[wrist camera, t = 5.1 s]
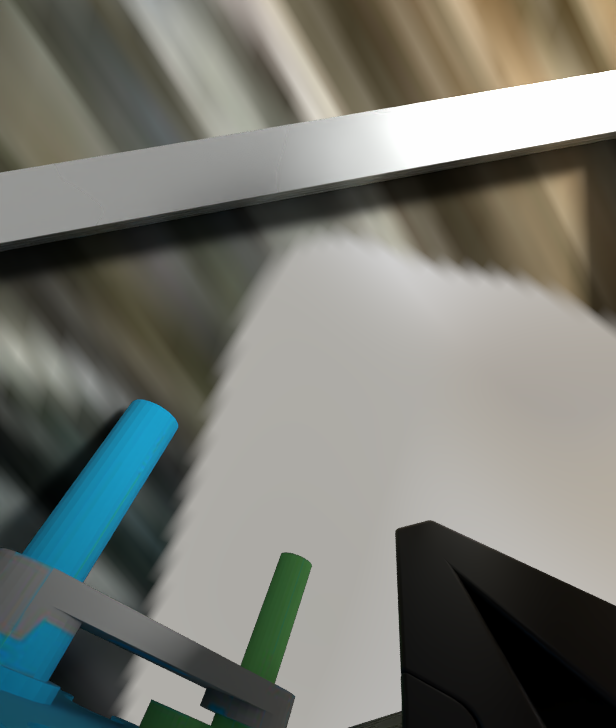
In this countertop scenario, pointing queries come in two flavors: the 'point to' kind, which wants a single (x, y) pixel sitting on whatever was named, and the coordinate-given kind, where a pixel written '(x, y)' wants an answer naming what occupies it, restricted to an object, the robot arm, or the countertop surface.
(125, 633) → the gear
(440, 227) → the countertop surface
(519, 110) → the gray rectangular frame
